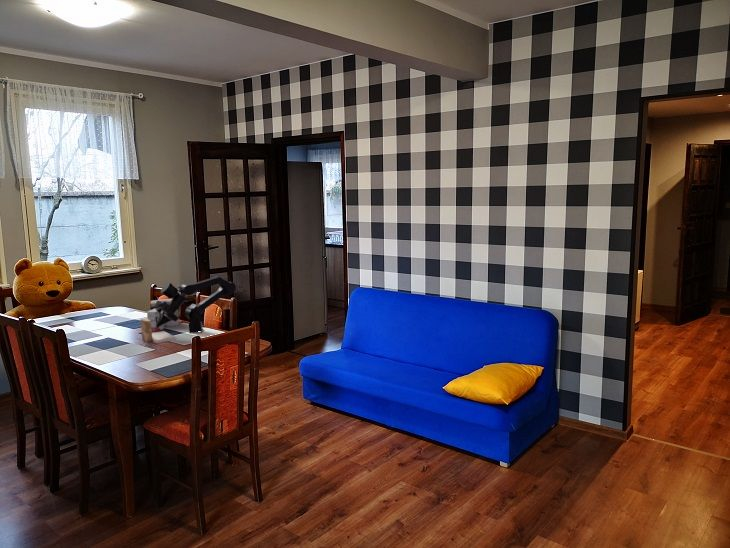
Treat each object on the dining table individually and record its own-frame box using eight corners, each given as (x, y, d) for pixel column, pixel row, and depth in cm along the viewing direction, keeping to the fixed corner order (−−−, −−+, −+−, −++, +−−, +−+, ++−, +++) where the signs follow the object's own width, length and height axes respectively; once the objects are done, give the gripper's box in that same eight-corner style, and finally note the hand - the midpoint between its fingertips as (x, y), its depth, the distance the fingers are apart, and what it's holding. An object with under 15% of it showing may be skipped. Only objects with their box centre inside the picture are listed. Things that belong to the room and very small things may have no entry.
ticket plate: (164, 333, 307) (163, 330, 307) (175, 339, 294) (174, 336, 294) (145, 336, 301) (145, 334, 300) (156, 343, 288) (155, 340, 287)
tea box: (179, 321, 334) (177, 297, 331) (179, 325, 324) (177, 301, 322) (152, 324, 329) (150, 299, 327) (151, 328, 320) (149, 303, 317)
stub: (148, 338, 297) (146, 318, 295) (152, 340, 291) (150, 320, 289) (142, 339, 295) (140, 319, 293) (146, 341, 289) (144, 321, 288)
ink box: (155, 332, 310) (154, 311, 308) (148, 332, 311) (146, 311, 309) (164, 328, 318) (162, 308, 316) (156, 328, 319) (155, 308, 317)
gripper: (158, 292, 303) (139, 315, 298) (170, 297, 289) (150, 321, 284) (173, 304, 309) (155, 326, 304) (186, 309, 295) (167, 333, 290)
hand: (156, 326), depth 295 cm, fingers closed
